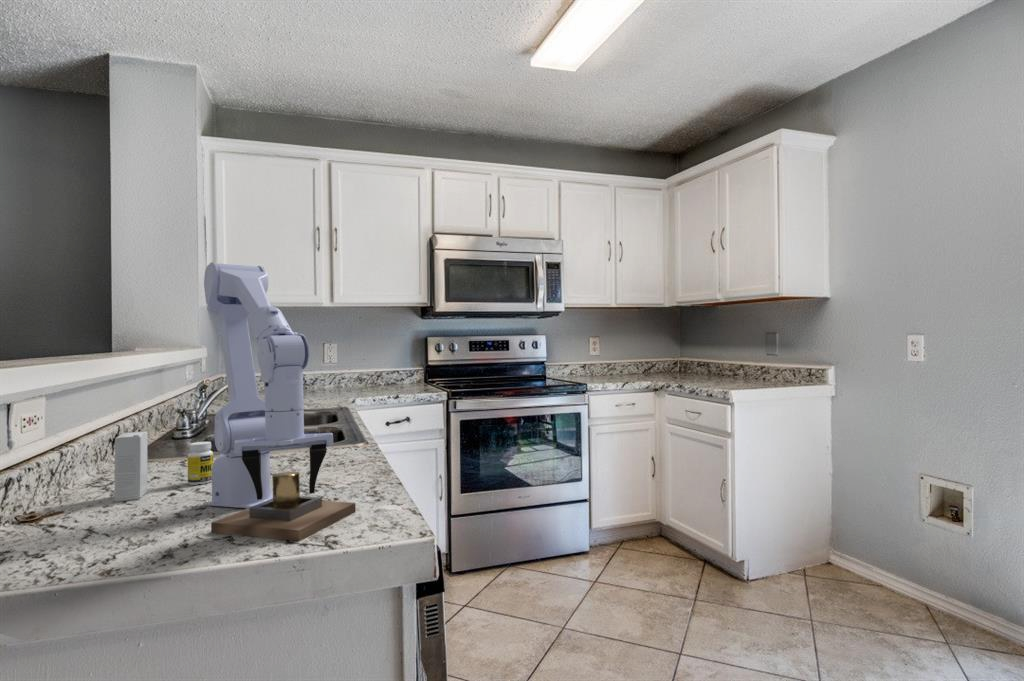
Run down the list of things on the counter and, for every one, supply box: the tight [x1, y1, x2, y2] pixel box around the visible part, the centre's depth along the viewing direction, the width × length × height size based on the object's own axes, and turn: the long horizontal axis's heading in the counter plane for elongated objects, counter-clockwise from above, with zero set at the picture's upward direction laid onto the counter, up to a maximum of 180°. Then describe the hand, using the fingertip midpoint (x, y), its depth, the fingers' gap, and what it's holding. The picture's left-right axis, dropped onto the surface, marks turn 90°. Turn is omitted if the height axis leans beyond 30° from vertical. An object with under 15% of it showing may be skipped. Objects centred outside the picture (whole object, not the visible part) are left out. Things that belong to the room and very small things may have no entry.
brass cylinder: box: [271, 471, 301, 509], centre depth 87 cm, size 4×4×6 cm
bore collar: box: [249, 495, 323, 521], centre depth 87 cm, size 8×8×2 cm
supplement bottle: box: [187, 441, 214, 486], centre depth 116 cm, size 5×5×8 cm
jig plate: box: [210, 499, 356, 542], centre depth 87 cm, size 16×14×2 cm
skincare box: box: [114, 431, 149, 502], centre depth 105 cm, size 6×4×12 cm
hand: (286, 494), depth 87 cm, fingers open, 7 cm apart
